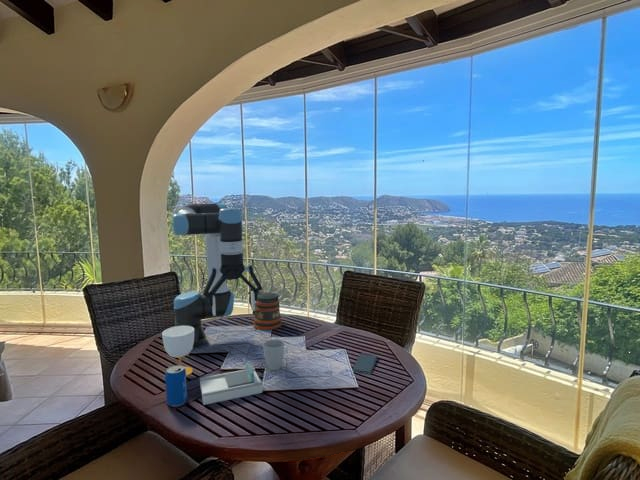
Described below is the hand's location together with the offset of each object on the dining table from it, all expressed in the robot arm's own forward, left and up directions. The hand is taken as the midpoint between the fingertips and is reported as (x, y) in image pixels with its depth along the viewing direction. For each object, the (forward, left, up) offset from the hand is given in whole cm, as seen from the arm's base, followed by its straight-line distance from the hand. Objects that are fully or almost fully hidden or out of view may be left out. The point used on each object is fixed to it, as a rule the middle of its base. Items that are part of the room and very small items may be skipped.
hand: (234, 312), depth 134 cm
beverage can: (+3, -20, -28) cm, 35 cm away
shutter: (+2, +1, -25) cm, 25 cm away
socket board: (+2, -2, -28) cm, 28 cm away
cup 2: (-9, +17, -28) cm, 34 cm away
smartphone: (+3, +52, -29) cm, 59 cm away
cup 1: (-19, -18, -28) cm, 39 cm away
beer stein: (-58, +25, -28) cm, 69 cm away
